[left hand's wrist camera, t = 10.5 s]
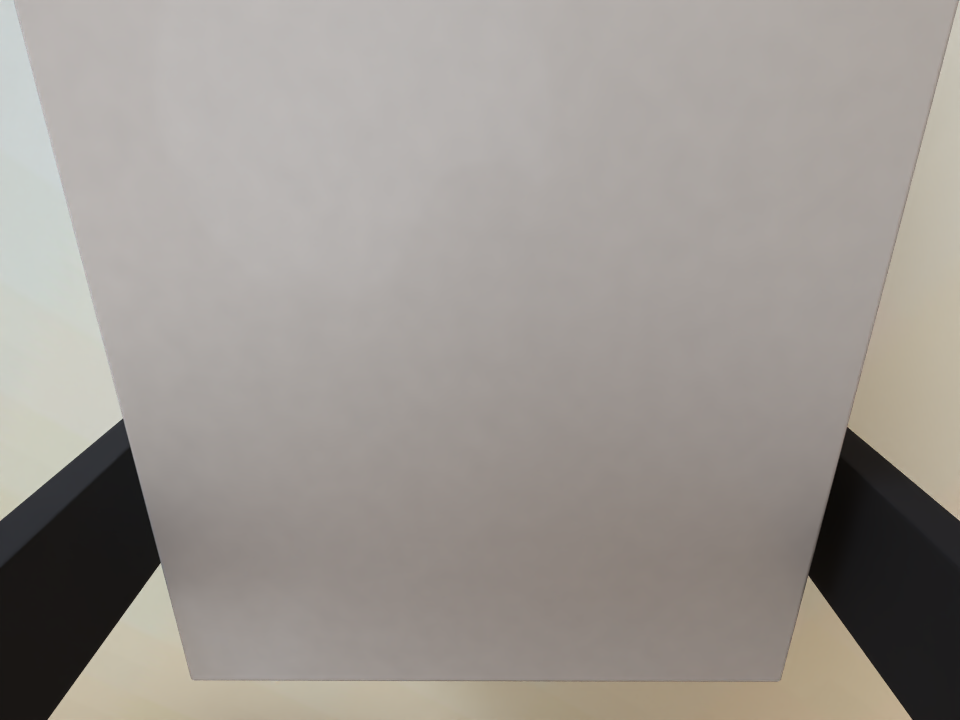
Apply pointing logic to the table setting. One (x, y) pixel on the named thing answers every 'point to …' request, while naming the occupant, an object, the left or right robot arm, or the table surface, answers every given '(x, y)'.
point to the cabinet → (486, 314)
